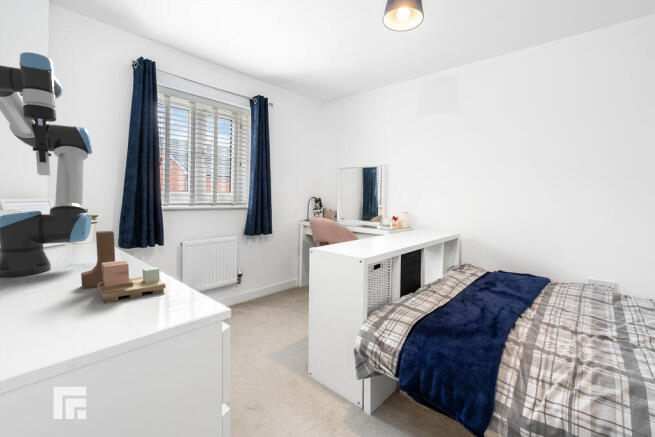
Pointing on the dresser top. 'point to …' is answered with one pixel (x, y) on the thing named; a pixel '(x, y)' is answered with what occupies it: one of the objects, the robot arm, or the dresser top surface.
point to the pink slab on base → (115, 276)
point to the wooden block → (100, 259)
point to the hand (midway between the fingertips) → (44, 174)
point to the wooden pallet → (133, 290)
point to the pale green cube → (150, 274)
